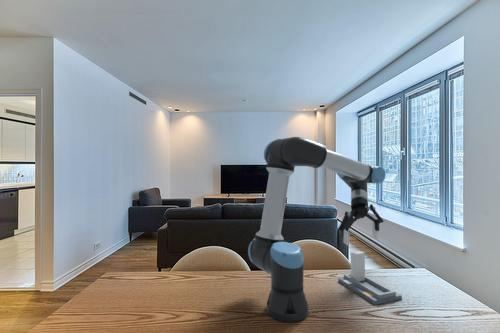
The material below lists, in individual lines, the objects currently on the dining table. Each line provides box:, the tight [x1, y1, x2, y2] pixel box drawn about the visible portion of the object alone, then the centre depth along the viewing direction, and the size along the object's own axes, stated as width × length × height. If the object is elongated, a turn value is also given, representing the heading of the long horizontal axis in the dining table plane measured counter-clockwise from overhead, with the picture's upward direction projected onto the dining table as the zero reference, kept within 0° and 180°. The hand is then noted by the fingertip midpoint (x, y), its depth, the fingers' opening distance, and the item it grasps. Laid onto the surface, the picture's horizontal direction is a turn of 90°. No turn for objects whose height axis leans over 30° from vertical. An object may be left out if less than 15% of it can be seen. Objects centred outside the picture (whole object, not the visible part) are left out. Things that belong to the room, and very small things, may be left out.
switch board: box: [338, 272, 403, 306], centre depth 115 cm, size 22×13×3 cm, turn 18°
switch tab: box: [350, 250, 366, 281], centre depth 120 cm, size 3×5×12 cm, turn 108°
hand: (360, 240), depth 116 cm, fingers open, 13 cm apart
